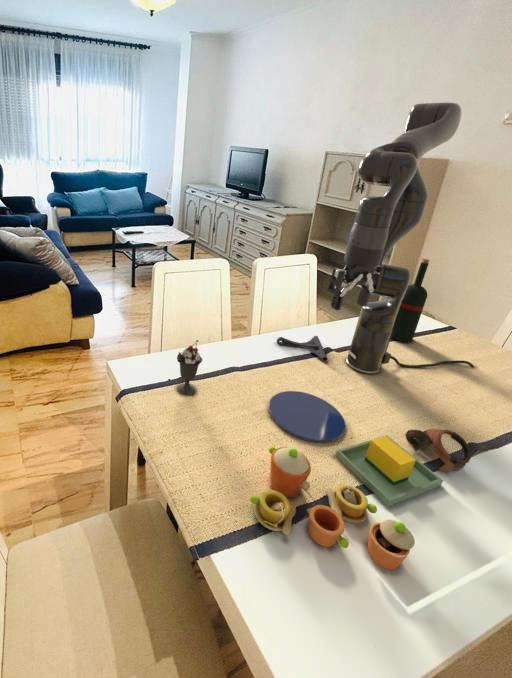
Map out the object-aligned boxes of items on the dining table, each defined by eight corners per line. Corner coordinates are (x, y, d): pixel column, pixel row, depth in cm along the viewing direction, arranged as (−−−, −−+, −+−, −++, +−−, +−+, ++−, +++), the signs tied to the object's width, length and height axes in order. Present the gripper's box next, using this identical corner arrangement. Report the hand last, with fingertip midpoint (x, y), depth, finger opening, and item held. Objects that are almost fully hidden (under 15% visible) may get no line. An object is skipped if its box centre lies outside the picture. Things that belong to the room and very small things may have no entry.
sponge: (378, 454, 86) (385, 435, 84) (407, 479, 80) (416, 459, 78) (364, 459, 84) (370, 440, 82) (392, 485, 78) (400, 465, 76)
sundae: (201, 386, 106) (207, 339, 101) (193, 400, 101) (199, 351, 95) (179, 379, 109) (184, 333, 103) (170, 392, 103) (174, 344, 97)
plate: (307, 390, 108) (308, 385, 107) (360, 434, 92) (362, 430, 92) (254, 402, 101) (254, 398, 101) (301, 452, 86) (302, 447, 85)
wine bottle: (378, 329, 146) (402, 253, 134) (409, 335, 142) (436, 258, 131) (382, 338, 139) (407, 259, 127) (414, 345, 135) (443, 264, 124)
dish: (384, 441, 90) (386, 435, 90) (440, 487, 79) (443, 480, 78) (334, 457, 85) (336, 450, 84) (387, 508, 74) (390, 501, 73)
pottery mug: (442, 443, 92) (470, 432, 85) (448, 484, 86) (479, 476, 79) (393, 424, 92) (417, 412, 86) (396, 463, 86) (423, 453, 80)
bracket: (274, 334, 137) (275, 327, 136) (317, 340, 135) (319, 333, 134) (278, 355, 124) (280, 348, 123) (327, 362, 122) (329, 354, 121)
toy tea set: (245, 524, 69) (253, 485, 65) (258, 462, 82) (265, 427, 79) (411, 591, 60) (432, 550, 57) (396, 510, 74) (411, 472, 70)
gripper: (356, 250, 82) (338, 317, 89) (403, 246, 87) (382, 310, 94) (330, 240, 89) (315, 304, 95) (374, 237, 94) (357, 297, 100)
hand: (348, 306), depth 94 cm, fingers open, 8 cm apart
